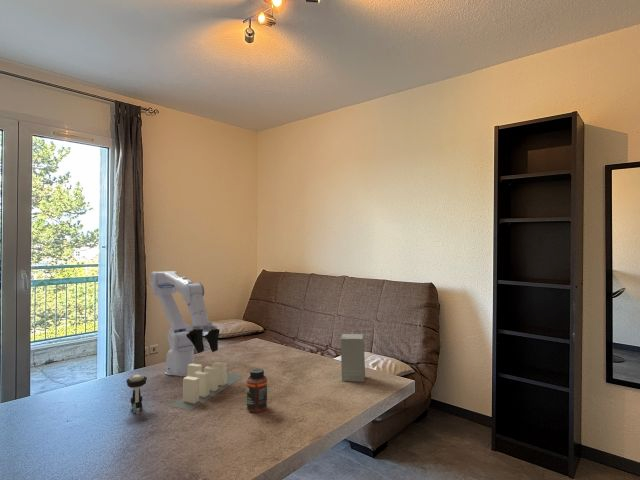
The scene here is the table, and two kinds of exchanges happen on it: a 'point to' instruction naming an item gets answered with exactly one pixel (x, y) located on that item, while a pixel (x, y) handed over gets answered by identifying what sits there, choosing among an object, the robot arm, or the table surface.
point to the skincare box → (353, 357)
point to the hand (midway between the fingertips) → (208, 351)
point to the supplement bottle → (256, 391)
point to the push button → (136, 390)
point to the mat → (189, 406)
